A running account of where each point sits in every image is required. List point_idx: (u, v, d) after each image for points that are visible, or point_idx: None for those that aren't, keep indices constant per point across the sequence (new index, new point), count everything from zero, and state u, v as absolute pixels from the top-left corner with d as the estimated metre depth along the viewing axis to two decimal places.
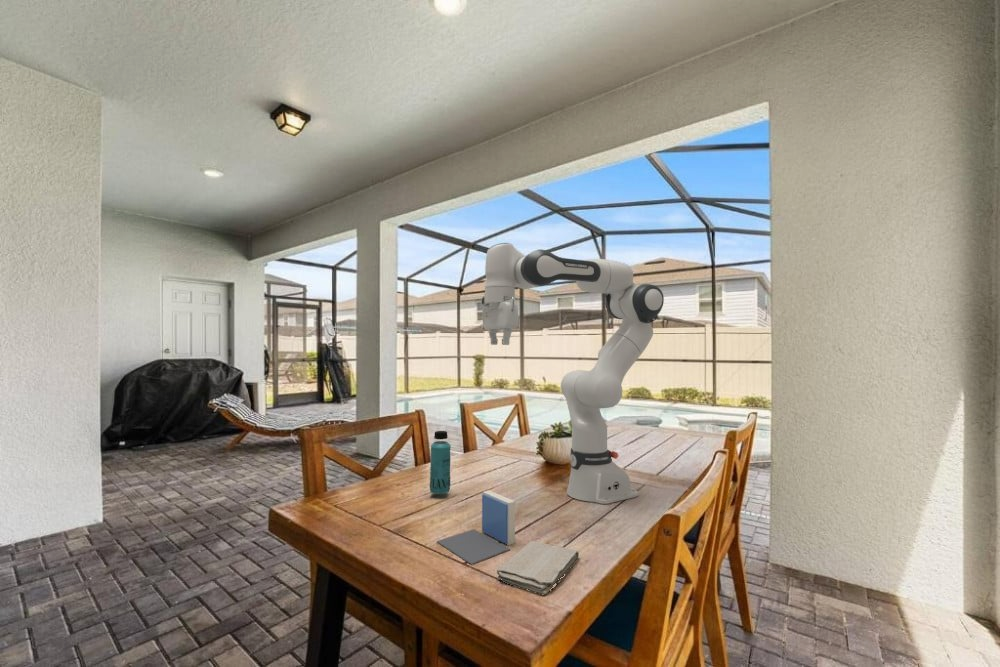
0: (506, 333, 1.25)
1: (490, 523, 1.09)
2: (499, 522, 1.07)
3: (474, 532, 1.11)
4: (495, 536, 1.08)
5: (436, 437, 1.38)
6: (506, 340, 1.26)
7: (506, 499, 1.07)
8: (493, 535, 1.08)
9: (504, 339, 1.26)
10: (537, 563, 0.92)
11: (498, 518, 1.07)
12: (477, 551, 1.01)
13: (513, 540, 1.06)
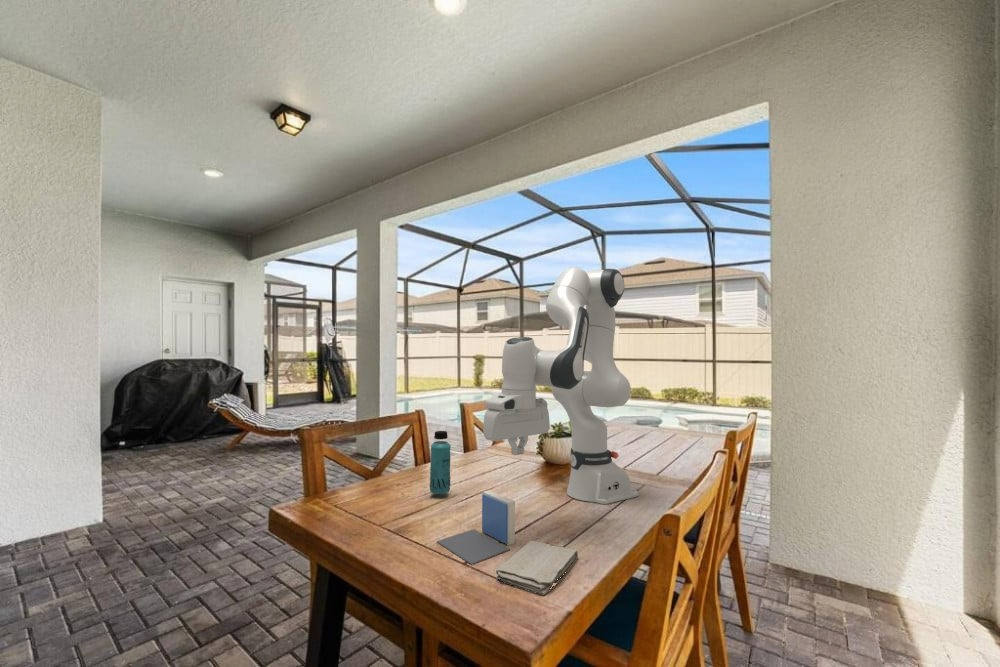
0: None
1: (490, 523, 1.09)
2: (499, 522, 1.07)
3: (474, 532, 1.11)
4: (495, 536, 1.08)
5: (436, 437, 1.38)
6: None
7: (506, 499, 1.07)
8: (493, 535, 1.08)
9: None
10: (536, 563, 0.92)
11: (498, 518, 1.07)
12: (477, 551, 1.01)
13: (513, 540, 1.06)
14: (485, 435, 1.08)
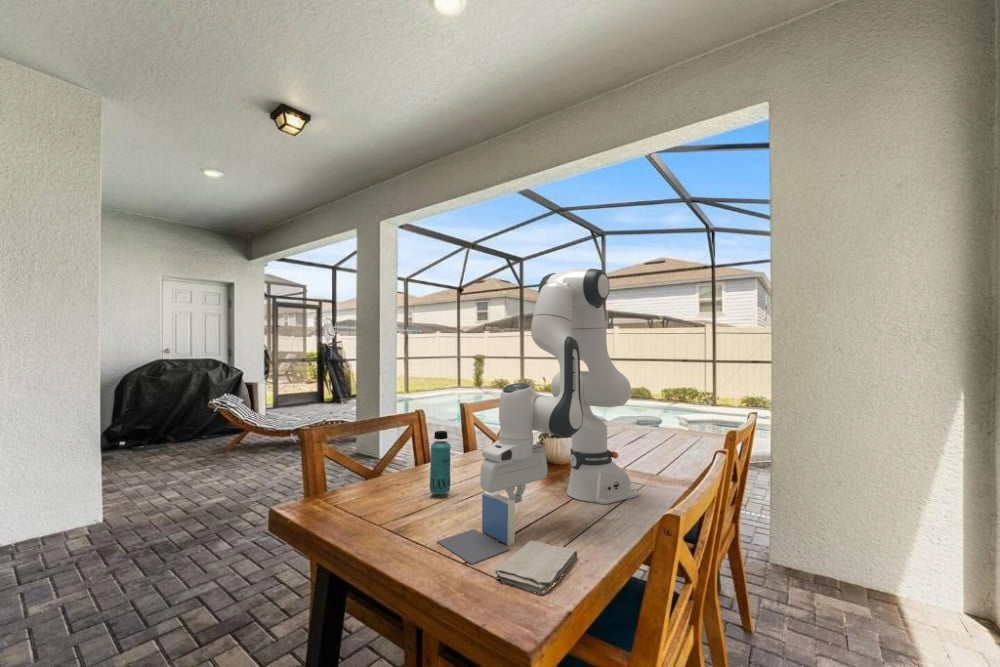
0: None
1: (490, 523, 1.09)
2: (499, 522, 1.07)
3: (474, 532, 1.11)
4: (495, 536, 1.08)
5: (436, 437, 1.38)
6: None
7: (506, 499, 1.07)
8: (493, 535, 1.08)
9: None
10: (536, 562, 0.92)
11: (498, 518, 1.07)
12: (477, 551, 1.01)
13: (513, 540, 1.06)
14: (482, 486, 1.07)
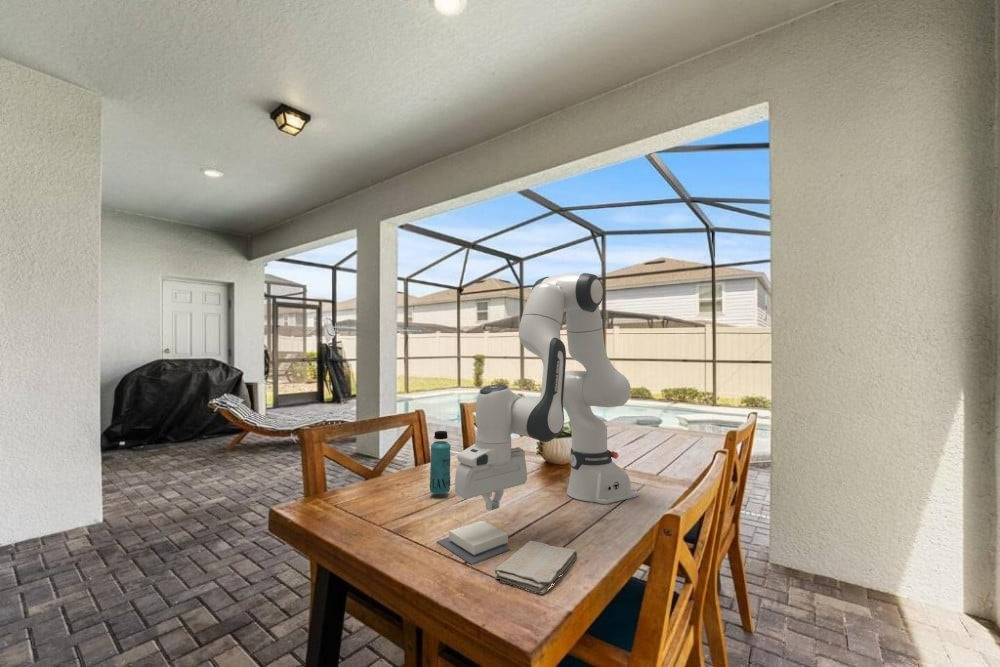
0: None
1: None
2: None
3: None
4: None
5: (436, 437, 1.38)
6: None
7: (468, 546, 1.00)
8: None
9: None
10: (535, 562, 0.93)
11: None
12: None
13: (505, 536, 1.04)
14: (456, 492, 1.02)
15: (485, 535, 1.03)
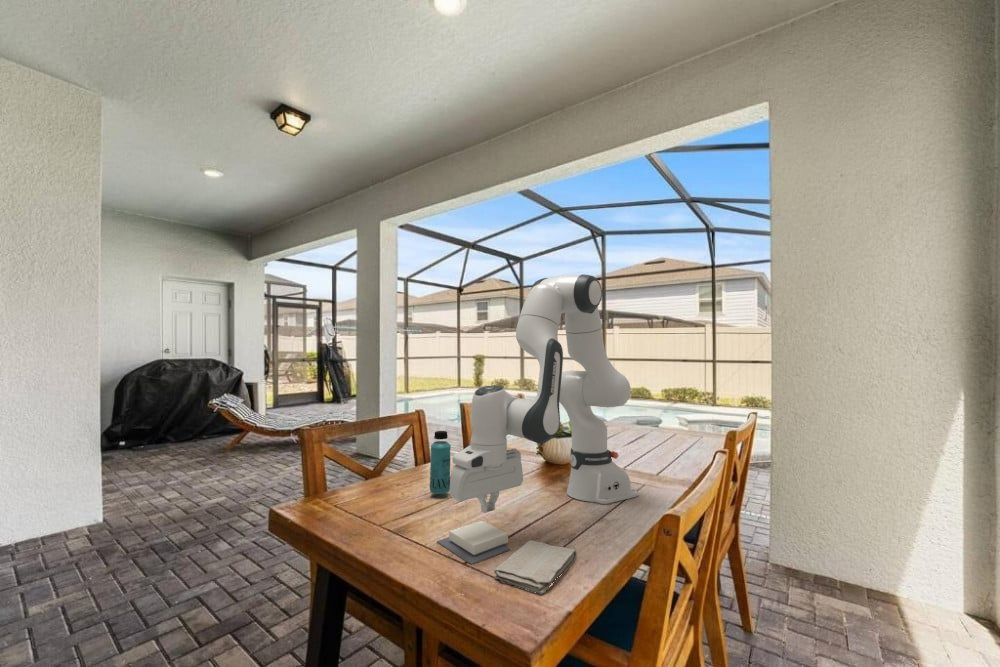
0: None
1: None
2: None
3: None
4: None
5: (436, 437, 1.38)
6: None
7: (468, 546, 1.00)
8: None
9: None
10: (535, 562, 0.93)
11: None
12: None
13: (505, 536, 1.04)
14: (451, 494, 1.02)
15: (485, 535, 1.03)
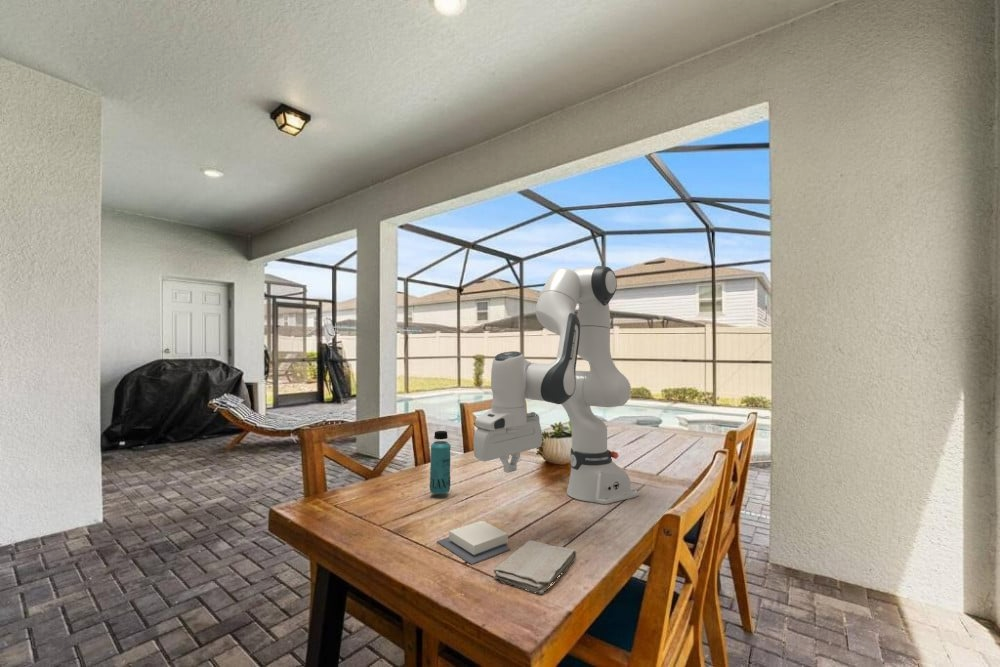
0: None
1: None
2: None
3: None
4: None
5: (436, 437, 1.38)
6: None
7: (468, 546, 1.00)
8: None
9: None
10: (534, 562, 0.93)
11: None
12: None
13: (505, 536, 1.04)
14: (475, 455, 1.06)
15: (485, 535, 1.03)
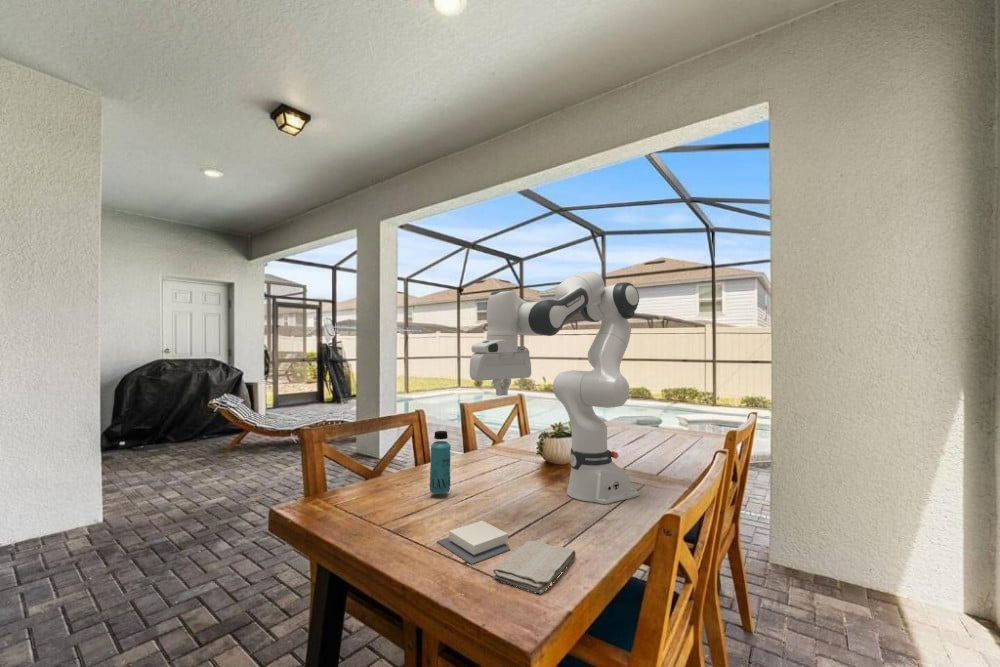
0: None
1: None
2: None
3: None
4: None
5: (436, 437, 1.38)
6: None
7: (468, 546, 1.00)
8: None
9: None
10: (534, 562, 0.93)
11: None
12: None
13: (505, 536, 1.04)
14: (471, 375, 1.19)
15: (485, 535, 1.03)
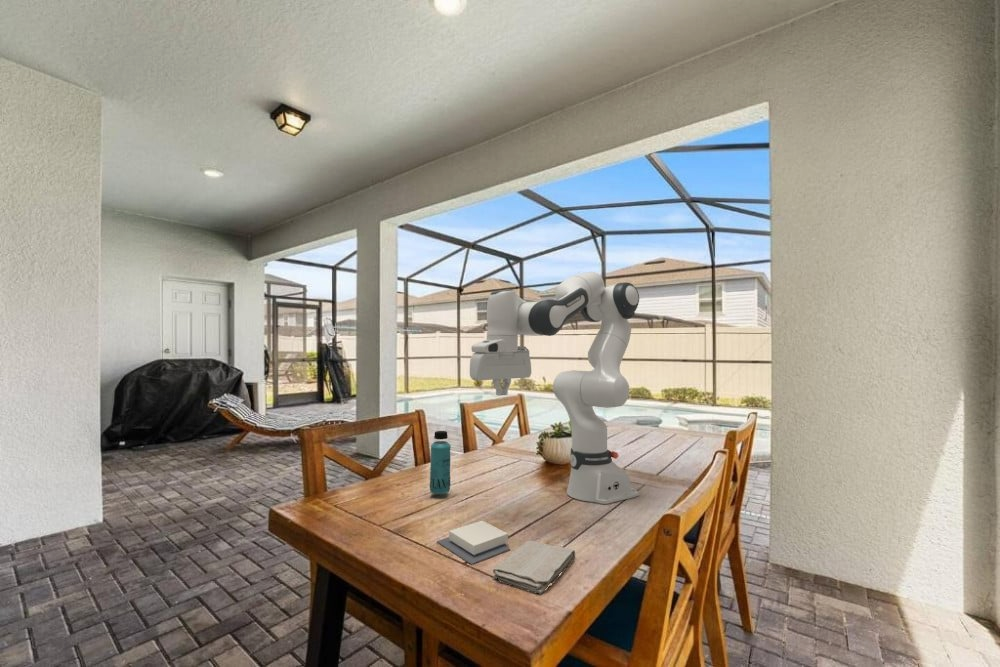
0: None
1: None
2: None
3: None
4: None
5: (436, 437, 1.38)
6: None
7: (468, 546, 1.00)
8: None
9: None
10: (533, 562, 0.93)
11: None
12: None
13: (505, 536, 1.04)
14: (471, 375, 1.19)
15: (485, 535, 1.03)
